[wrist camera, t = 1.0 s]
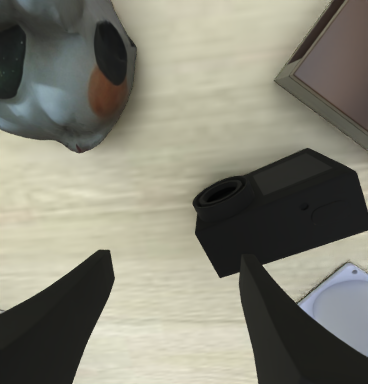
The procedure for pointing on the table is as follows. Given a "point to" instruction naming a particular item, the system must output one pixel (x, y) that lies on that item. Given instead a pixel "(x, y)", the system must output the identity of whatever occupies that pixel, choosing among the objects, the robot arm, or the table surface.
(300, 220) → the digital camera
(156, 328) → the table surface
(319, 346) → the robot arm
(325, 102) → the desk shelf
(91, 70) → the lucky cat figurine
